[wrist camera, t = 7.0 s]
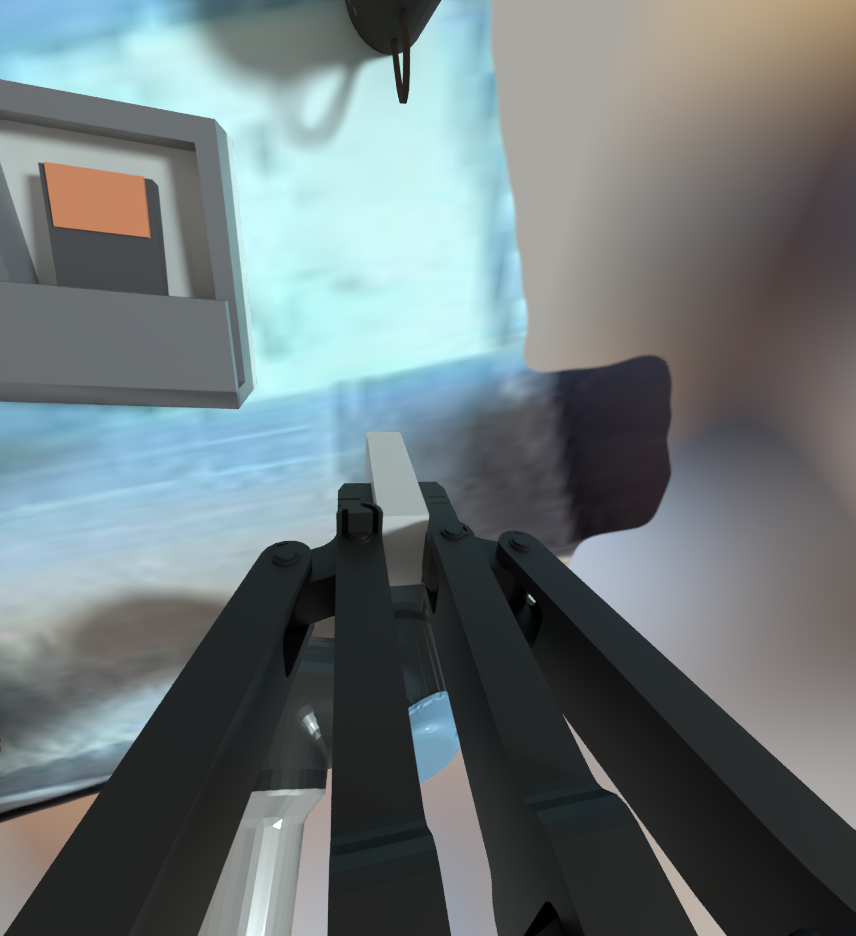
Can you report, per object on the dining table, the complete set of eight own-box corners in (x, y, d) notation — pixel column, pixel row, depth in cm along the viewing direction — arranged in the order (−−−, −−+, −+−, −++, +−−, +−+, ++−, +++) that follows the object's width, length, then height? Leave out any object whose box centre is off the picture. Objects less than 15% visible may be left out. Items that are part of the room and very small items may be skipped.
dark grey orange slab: (174, 349, 31) (167, 348, 30) (75, 343, 30) (64, 342, 29) (158, 185, 29) (150, 177, 28) (48, 169, 27) (35, 160, 26)
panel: (257, 383, 40) (238, 409, 32) (65, 374, 36) (-5, 401, 29) (232, 140, 31) (198, 100, 23) (-27, 95, 27) (-162, 30, 20)
